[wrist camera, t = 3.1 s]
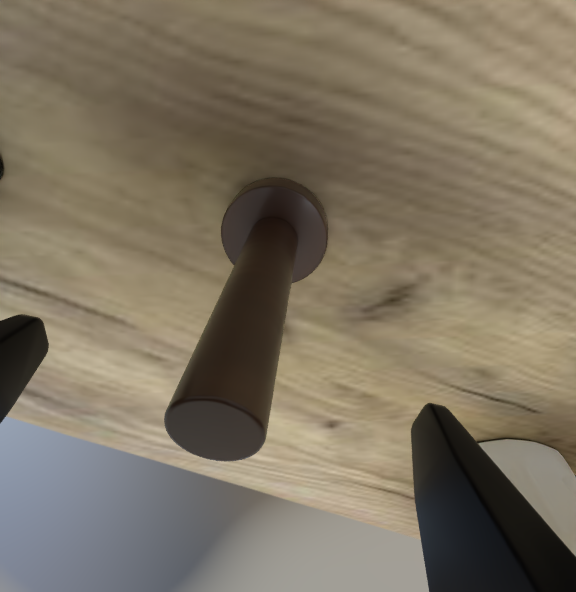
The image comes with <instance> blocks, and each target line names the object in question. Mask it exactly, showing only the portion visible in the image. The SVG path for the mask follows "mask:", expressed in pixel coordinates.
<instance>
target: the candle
mask: <svg viewBox="0 0 576 592" xmlns="http://www.w3.org/2000/svg"><path fill="white" fill-rule="evenodd" d="M2 172H3V167H2V162H1V159H0V179H1V177H2Z"/></svg>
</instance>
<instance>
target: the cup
mask: <svg viewBox="0 0 576 592" xmlns="http://www.w3.org/2000/svg"><path fill="white" fill-rule="evenodd" d="M478 444H479V445H480V446H481V448H482V449H483V450H484V451H485V452H486V453H487V455H488V456H489V457H490V458H491V459H492V460H493V462H494V463H495V464H496V465H497V466H498V467H499V468H500V470H501V471H502V472H503V473H504V474H505V475H506V477H507V478H508V479H509V480H510V481H511V482H512V484H513V485H514V486H515V487H516V488H517V489H518V490H519V492H520V493H521V494H522V495H523V496H524V497H525V499H526V500H527V501H528V502H529V503H530V504H531V505H532V507H533V508H534V509H535V510H536V511H537V512H538V514H539V515H540V516H541V517H542V518H543V519H544V521H545V522H546V523H547V524H548V525H549V526H550V527H551V529H552V530H553V531H554V532H555V533H556V534H557V536H558V537H559V538H560V539H561V540H562V541H563V543H564V544H565V545H566V546H567V547H568V548H569V549H570V551H571V552H572V553H573V554H574V555H575V556H576V476H575V475H574V473H573V471H572V470H571V468H570V466H569V465H568V463H567V462H566V460H565V459H564V457H563V456H562V455H561V454H560V453H559V452H558V451H557V450H555V449H553V448H550V447H548V446H545V445H542V444H539V443H536V442H531V441H524V440H514V439H501V440H493V441H487V442H481V443H478Z"/></svg>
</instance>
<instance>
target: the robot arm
mask: <svg viewBox="0 0 576 592" xmlns="http://www.w3.org/2000/svg"><path fill="white" fill-rule="evenodd" d="M48 348H49V343H48V339H47V335H46V331H45V327H44V323H43V321H42V320H41V319H40V318H38V317H33V316H29V315H23V314H21V315H16V316H13V317H10V318H8V319H5V320H2V321H0V423H1V422H2V420H3V419H4V418H5V417H6V415H7V414H8V412H9V411H10V410H11V408H12V407H13V405H14V404H15V402H16V401H17V399H18V398H19V396H20V395H21V393H22V391H23V390H24V388H25V387H26V385H27V384H28V382H29V381H30V379H31V378H32V376H33V374H34V373H35V371H36V370H37V368H38V367H39V365H40V364H41V362H42V360H43V359H44V357H45V356H46V354H47V352H48ZM411 442H412V461H413V479H414V494H415V503H416V511H417V517H418V523H419V530H420V536H421V542H422V548H423V555H424V561H425V567H426V574H427V580H428V586H429V592H576V556H575V555H574V554H573V553H572V552H571V551H570V549H569V548H568V547H567V546H566V545H565V544H564V543H563V541H562V540H561V539H560V538H559V537H558V536H557V534H556V533H555V532H554V531H553V530H552V529H551V527H550V526H549V525H548V524H547V523H546V522H545V521H544V519H543V518H542V517H541V516H540V515H539V514H538V512H537V511H536V510H535V509H534V508H533V507H532V505H531V504H530V503H529V502H528V501H527V500H526V499H525V497H524V496H523V495H522V494H521V493H520V492H519V490H518V489H517V488H516V487H515V486H514V485H513V484H512V482H511V481H510V480H509V479H508V478H507V477H506V475H505V474H504V473H503V472H502V471H501V470H500V468H499V467H498V466H497V465H496V464H495V463H494V462H493V460H492V459H491V458H490V457H489V456H488V455H487V453H486V452H485V451H484V450H483V449H482V448H481V446H480V445H479V444H478V443H477V442H476V441H475V440H474V438H473V437H472V436H471V435H470V434H469V433H468V431H467V430H466V429H465V428H464V427H463V426H462V425H461V423H460V422H459V421H458V420H457V419H456V418H455V416H454V415H453V414H452V413H451V412H450V411H449V410H448V409H447V408H446V407H445V406H441V405H437V404H432V403H428V404H426V405H425V406H424V407H423V409H422V410H421V412H420V413H419V415H418V416H417V418H416V419H415V421H414V423H413V425H412V428H411Z"/></svg>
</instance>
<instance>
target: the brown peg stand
mask: <svg viewBox="0 0 576 592" xmlns="http://www.w3.org/2000/svg"><path fill="white" fill-rule="evenodd" d="M221 237H222V243H223V247H224V249H225V252H226V254H227V256H228V258H229V259H230V261H231V262H232V263H233V265H234V267H233V269H232V271H231V274H230V276H229V278H228V280H227V282H226V284H225V286H224V288H223V291H222V293H221V295H220V297H219V299H218V301H217V303H216V305H215V308H214V310H213V312H212V314H211V316H210V318H209V320H208V323H207V325H206V327H205V329H204V331H203V333H202V335H201V337H200V340H199V342H198V344H197V346H196V348H195V350H194V352H193V354H192V357H191V359H190V361H189V363H188V365H187V367H186V369H185V371H184V374H183V376H182V378H181V380H180V382H179V384H178V386H177V389H176V391H175V393H174V395H173V397H172V399H171V401H170V403H169V406H168V408H167V410H166V412H165V418H164V422H165V428H166V431H167V433H168V434H169V436H170V437H171V439H172V440H173V441H174V442H175V443H176V444H178V445H179V446H180V447H182V448H183V449H185V450H186V451H188V452H190V453H192V454H194V455H197V456H199V457H203V458H206V459H210V460H216V461H236V460H242V459H245V458H248V457H250V456H252V455H254V454H255V453H257V452H258V451H259V450H260V448H261V447H262V446H263V444H264V442H265V440H266V434H267V428H268V422H269V416H270V410H271V404H272V398H273V391H274V385H275V379H276V373H277V367H278V361H279V355H280V349H281V343H282V336H283V330H284V324H285V318H286V312H287V306H288V300H289V294H290V288H291V283H294V282H297V281H299V280H302V279H303V278H305V277H307V276H308V275H309V274H311V273H312V272H313V271H314V270H315V269H316V268H317V267H318V265H319V264H320V263H321V261H322V259H323V257H324V255H325V252H326V248H327V240H328V227H327V219H326V215H325V212H324V209H323V207H322V205H321V203H320V202H319V201H318V199H317V198H316V197H315V196H314V195H313V193H312V192H310V191H309V190H308V189H307V188H305V187H304V186H302V185H301V184H298V183H296V182H294V181H291V180H288V179H282V178H267V179H262V180H258V181H256V182H253V183H251V184H250V185H248V186H246V187H245V188H244V189H243V190H241V191H240V193H239V194H238V195H237V196H236V197H235V199H234V200H233V202H232V203H231V204H230V206H229V207H228V209H227V211H226V213H225V215H224V218H223V221H222V226H221Z"/></svg>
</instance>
